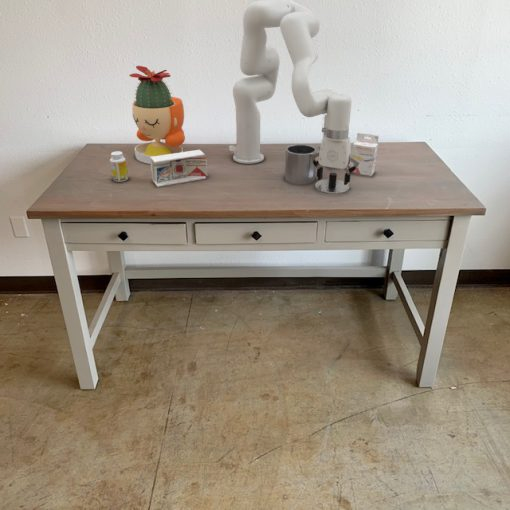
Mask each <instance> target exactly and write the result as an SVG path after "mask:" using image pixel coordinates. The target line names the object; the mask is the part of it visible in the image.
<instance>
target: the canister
mask: <svg viewBox="0 0 510 510" xmlns="http://www.w3.org/2000/svg"><path fill="white" fill-rule="evenodd" d="M317 152H318V150H317V147H315V146H313V145H310V144H301V143H300V144H299V143H298V144H291V145H288V146H287V147H285V160H284V161H285V164H284V165H285V166H284V168H285V169H284V180H285V181H287V182H289V183H290V184H291V183H292V184H297V185H299V184H300V185H304V184H305V185H306V184H309V183H312V182H314V181H315V180H316V171H317V169H316V166H315V165H314V164H313V161H312V159H311V155H312V154H314V153H317Z"/></svg>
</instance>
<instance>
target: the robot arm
mask: <svg viewBox="0 0 510 510" xmlns="http://www.w3.org/2000/svg"><path fill="white" fill-rule="evenodd" d="M242 18H243V19H242V21H243V22H242V27H243V28H242V29H243V34H242V42H241V51H240V58H239V67H240V68H239V69H240V71H241V73H242V74H243V75H245V76H247V77H243V78H241V79H239V80H236V82H235V83H234V85H233V87H232V96H233V102H234V108H235V129H236V131H235V133H236V134H235V136H236V137H235V138H236V145H235V146H234V145H229V146H228V152H229V153H233V156H232V159H233V161H234V162H236V163H239V164H245V165H246V164H247V165H251V164H258V163H261V162H263V161H264V159H265V155H264V154H263V153H261V113H260V109H259V108H258V105H257V103H260V102H265V101H267V100H269V99H272V97H273V96H274V94H275V92H276V88H277V81H278V77H279V70H280V55H279V53H278V51H277V49H276V48H275V47H273V46H271V45H267V41H268V37H267V31H266V29H270V28H278V27H279V28H280V32H281V33H280V34H281V36H282V38H283V41H284V43H285V46H286V49H287V52H288V54H289V57H290V59H291V62H292V66H293V70H292V75H291V93H292V95H293V100H294V102H295V104H296V107H297V108H298V109H297V110H298V111H299V112H300V114H301V115H303V116H304V117H305V118H314V117H317V116H320V115H323V114H325V113H327V122H326V128H322V127H321V133H322V132H324V133H325V136H323V135H322V139H321V143H320V148H319V151H317V153H314V154H312V155H311V159H312V161H313V164H314V165H315V166H316V178H317V181H320V180H322V179H323V175H324V167H327V168H329V167H331V168H330V169H339V170H344V171H345V174H344V180H343V182H344V185H347V184H348V183H350V182H351V174H352V173H351V172H353V171H354V170H355V169H356V168H357V167H358V165H359V164H360V162H359V161H358V160H357V159H355V158H354V157H352V149H351V147H352V145H351V138H350V137H349V131H350V121H351V110H352V98H351V96H350V95H348V94H345V93H337V92H335V91H333V90H331V89H321V90H316V91H312V89H311V88H310V83H309V72H310V69H311V67H312V66H313V65H314V64H315V62H317V60H318V57H319V55H318V52H317V49H316V46H315V44H314V41H313V39H312V38H315V37H316V36H317V35H318V33H319V32H320V28H321V27H320V26H321V25H320V20H319V17H318V16H317V14H316V13H315V12H314V11H312V10H311V9H309V8H307V7H305V6H303V5H301V4H300V3H297V2H296V1H294V0H256V1H253V2H251V3H249V4H248V5H247V7H246V8H245V10H244V13H243V17H242ZM248 76H249V77H248ZM317 158H318V159H317ZM351 162H352V163H354V166H353V167H352V168H351V167H350V166H351Z"/></svg>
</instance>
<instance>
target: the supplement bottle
mask: <svg viewBox="0 0 510 510" xmlns="http://www.w3.org/2000/svg"><path fill="white" fill-rule="evenodd" d="M110 156H111V158H109V164H110V169H111V175H112V180H113V182H116V183H123V182H126V181H128V180H129V174H128V166H127V160H126V157H125V156H124V154H123V152H122V151H120V150H117V151H112V152H111V153H110Z"/></svg>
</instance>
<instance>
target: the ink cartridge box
mask: <svg viewBox="0 0 510 510" xmlns="http://www.w3.org/2000/svg"><path fill="white" fill-rule="evenodd" d="M367 137H368V138H367ZM379 138H380V137H379V135H376V134H370V133H361V132H357V134H356V141H354V143H353V144H352V149H351V156H352V157H354V158H355V159H357V160H358V161H359V162H360V164H359V165H358V167H357V168H356V169H355V170H354V171H353V172H351V174H358V175H364V176H369V177H372V176H373V175H374V173H375V170H376V163H377V156H378V155H377V154H378V149H379ZM349 166H350V167H351V168H352V167H353V166H354V163H352V162H351V161H350V165H349Z"/></svg>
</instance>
